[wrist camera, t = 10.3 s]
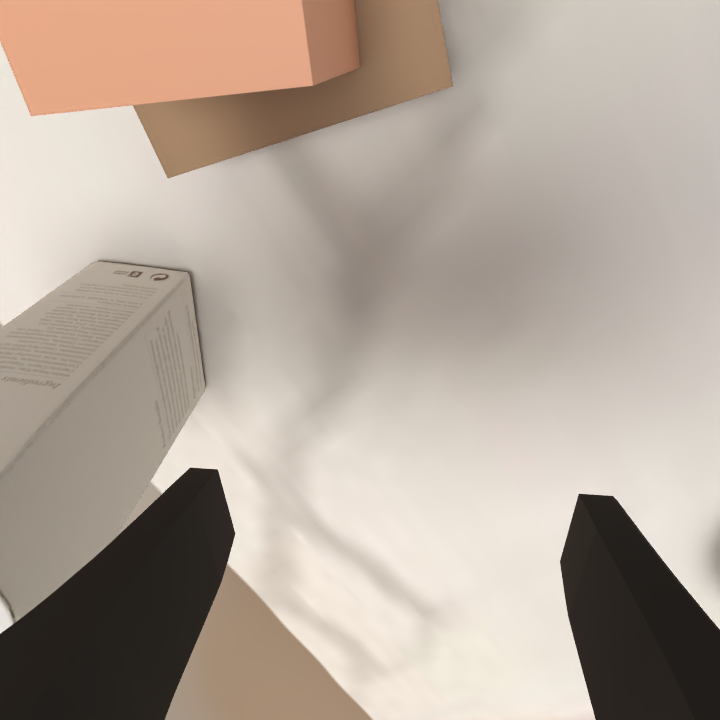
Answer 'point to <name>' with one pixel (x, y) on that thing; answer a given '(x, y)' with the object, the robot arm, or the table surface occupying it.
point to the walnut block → (309, 92)
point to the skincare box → (87, 417)
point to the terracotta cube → (171, 49)
